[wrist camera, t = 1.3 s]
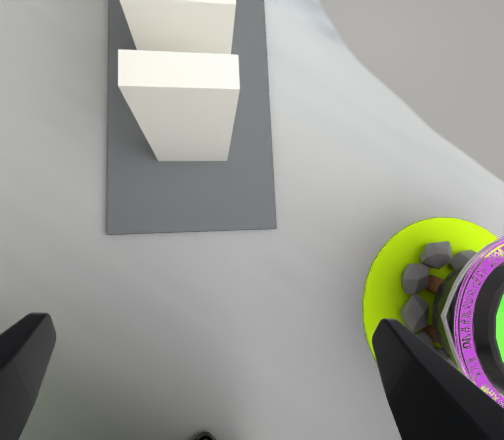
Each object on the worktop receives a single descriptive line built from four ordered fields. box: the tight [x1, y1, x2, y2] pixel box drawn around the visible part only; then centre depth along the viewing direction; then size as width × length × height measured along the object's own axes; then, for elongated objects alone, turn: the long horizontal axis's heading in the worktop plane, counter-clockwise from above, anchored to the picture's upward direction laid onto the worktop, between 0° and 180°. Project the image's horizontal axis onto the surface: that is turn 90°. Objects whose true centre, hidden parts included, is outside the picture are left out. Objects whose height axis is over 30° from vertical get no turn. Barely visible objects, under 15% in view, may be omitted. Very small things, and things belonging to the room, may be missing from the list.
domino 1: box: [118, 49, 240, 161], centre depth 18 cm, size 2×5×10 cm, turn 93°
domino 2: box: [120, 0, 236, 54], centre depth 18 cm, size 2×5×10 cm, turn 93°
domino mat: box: [107, 0, 277, 235], centre depth 24 cm, size 28×12×1 cm, turn 2°
